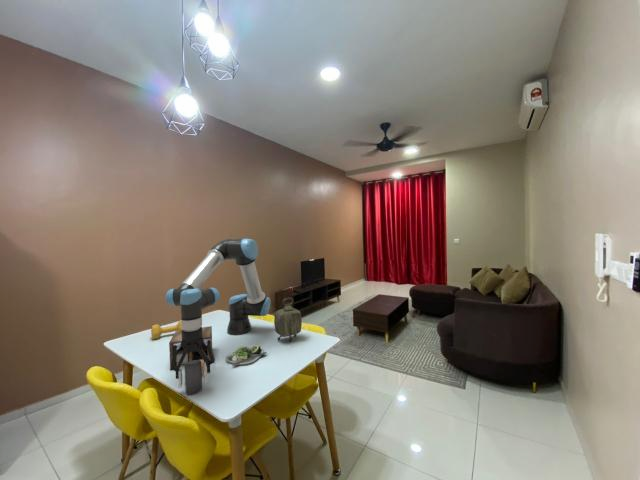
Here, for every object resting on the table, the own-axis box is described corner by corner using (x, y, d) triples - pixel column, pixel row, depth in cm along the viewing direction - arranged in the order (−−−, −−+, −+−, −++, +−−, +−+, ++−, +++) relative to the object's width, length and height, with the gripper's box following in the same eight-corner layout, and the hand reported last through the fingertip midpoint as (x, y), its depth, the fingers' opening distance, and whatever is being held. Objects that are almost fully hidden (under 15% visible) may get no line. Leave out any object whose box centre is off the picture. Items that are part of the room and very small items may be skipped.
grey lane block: (189, 357, 133) (189, 348, 133) (188, 363, 128) (187, 353, 127) (178, 359, 132) (178, 349, 131) (176, 365, 126) (176, 355, 126)
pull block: (205, 369, 121) (204, 346, 121) (201, 392, 103) (200, 365, 103) (191, 372, 119) (190, 348, 119) (184, 396, 101) (183, 368, 101)
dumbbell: (151, 341, 154) (150, 328, 154) (151, 336, 162) (151, 323, 162) (186, 334, 164) (186, 322, 164) (185, 330, 172) (185, 318, 172)
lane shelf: (212, 348, 143) (211, 326, 143) (210, 361, 128) (209, 336, 128) (176, 354, 137) (175, 330, 137) (170, 368, 122) (169, 342, 122)
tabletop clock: (296, 334, 160) (295, 294, 160) (303, 339, 153) (302, 297, 152) (274, 340, 152) (273, 298, 152) (280, 345, 145) (279, 301, 144)
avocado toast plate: (246, 371, 119) (246, 362, 119) (216, 365, 125) (216, 355, 125) (270, 353, 137) (269, 344, 137) (242, 348, 143) (242, 340, 143)
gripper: (220, 321, 111) (222, 373, 112) (163, 328, 104) (165, 383, 105) (220, 327, 104) (221, 382, 105) (158, 335, 97) (161, 394, 98)
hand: (193, 383), depth 105 cm, fingers open, 9 cm apart
